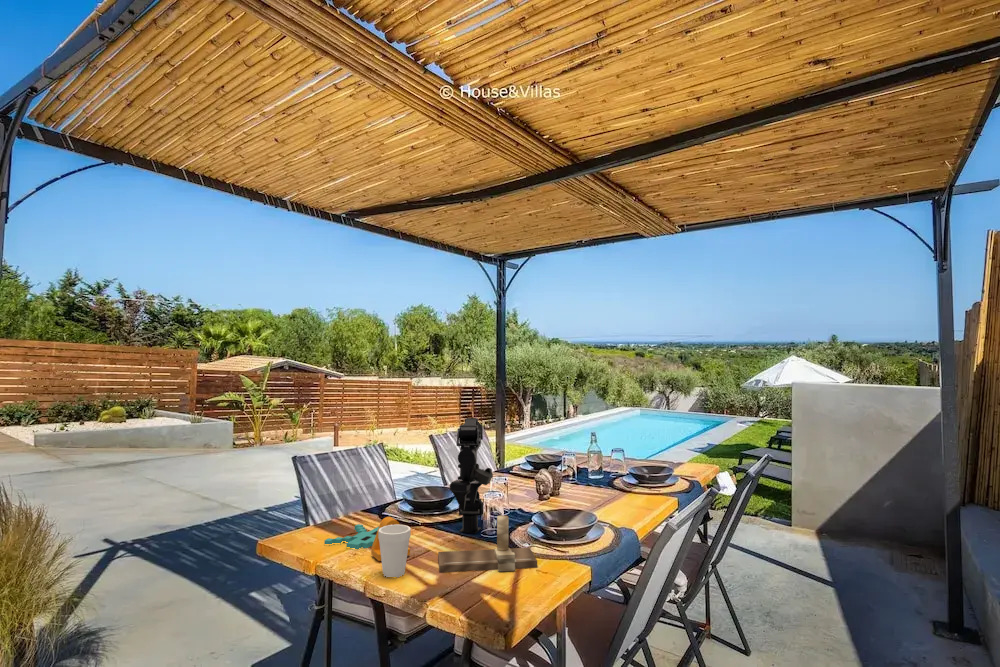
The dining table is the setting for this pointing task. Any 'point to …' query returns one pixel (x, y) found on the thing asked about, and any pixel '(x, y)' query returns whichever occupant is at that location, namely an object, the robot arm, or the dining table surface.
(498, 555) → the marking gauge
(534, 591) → the dining table surface
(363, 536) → the alien figure
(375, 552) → the bracket
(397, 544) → the foam cup
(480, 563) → the walnut board
